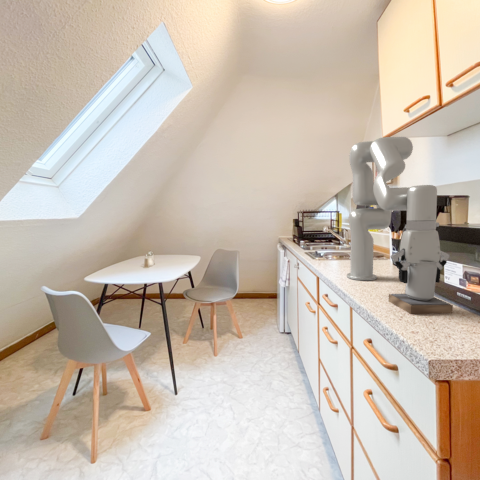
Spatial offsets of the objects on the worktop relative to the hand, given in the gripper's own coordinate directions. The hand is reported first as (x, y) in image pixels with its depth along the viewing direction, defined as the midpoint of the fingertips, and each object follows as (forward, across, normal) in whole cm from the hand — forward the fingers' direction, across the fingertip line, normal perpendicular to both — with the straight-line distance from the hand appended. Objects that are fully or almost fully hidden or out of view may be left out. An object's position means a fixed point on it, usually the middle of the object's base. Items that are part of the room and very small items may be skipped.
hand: (419, 281), depth 85 cm
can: (+5, 0, 0) cm, 5 cm away
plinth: (+8, 0, 0) cm, 8 cm away
